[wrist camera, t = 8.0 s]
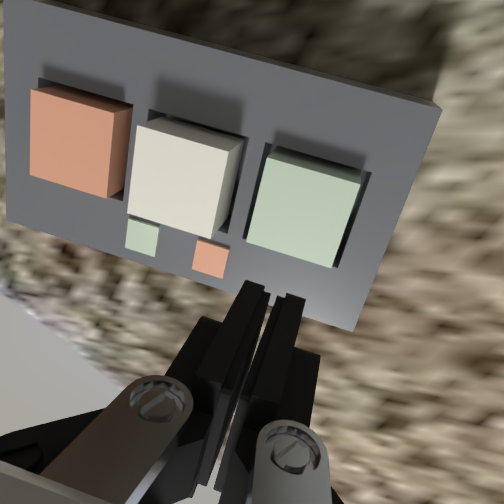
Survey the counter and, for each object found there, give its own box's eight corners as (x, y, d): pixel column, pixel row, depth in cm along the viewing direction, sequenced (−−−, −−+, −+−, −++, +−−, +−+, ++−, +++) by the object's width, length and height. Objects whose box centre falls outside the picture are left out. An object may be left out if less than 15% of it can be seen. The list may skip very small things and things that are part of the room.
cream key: (244, 139, 23) (228, 151, 20) (227, 218, 25) (210, 239, 22) (163, 116, 24) (137, 125, 21) (152, 195, 25) (127, 213, 23)
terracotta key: (141, 105, 24) (114, 113, 22) (132, 183, 26) (106, 198, 24) (66, 84, 25) (30, 89, 22) (63, 162, 27) (29, 174, 24)
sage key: (361, 168, 23) (360, 184, 21) (334, 244, 25) (331, 268, 23) (278, 144, 24) (266, 157, 21) (258, 221, 26) (246, 241, 23)
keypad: (432, 101, 23) (443, 110, 19) (354, 300, 28) (352, 334, 25) (48, -1, 25) (0, -8, 22) (43, 202, 30) (3, 221, 27)
